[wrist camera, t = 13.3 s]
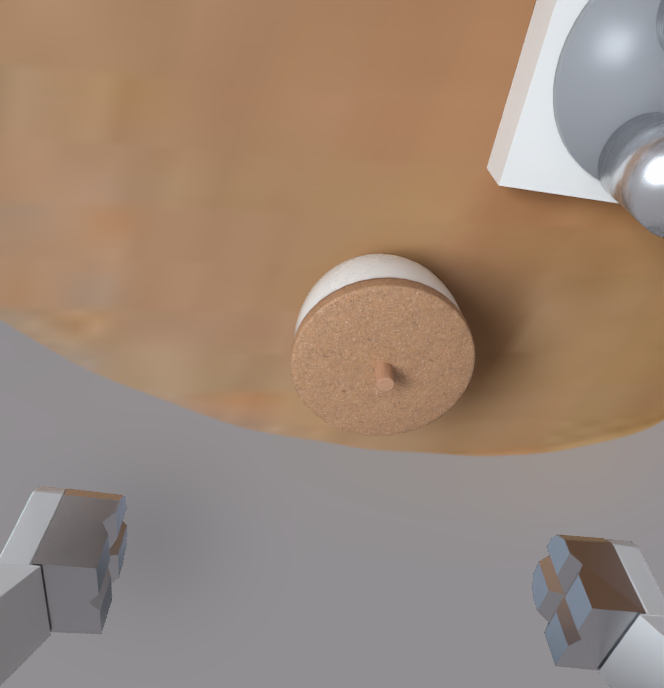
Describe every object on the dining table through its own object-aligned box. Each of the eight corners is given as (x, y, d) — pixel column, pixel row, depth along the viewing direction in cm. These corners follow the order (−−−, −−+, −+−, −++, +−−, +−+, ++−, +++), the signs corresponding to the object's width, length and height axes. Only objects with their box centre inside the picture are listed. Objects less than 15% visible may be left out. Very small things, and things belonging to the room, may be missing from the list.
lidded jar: (266, 266, 41) (254, 347, 33) (420, 200, 39) (446, 269, 31) (334, 384, 47) (337, 477, 39) (472, 332, 44) (505, 419, 36)
